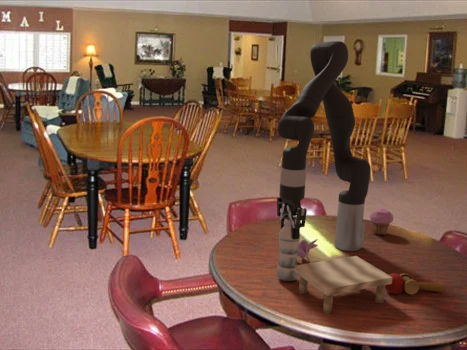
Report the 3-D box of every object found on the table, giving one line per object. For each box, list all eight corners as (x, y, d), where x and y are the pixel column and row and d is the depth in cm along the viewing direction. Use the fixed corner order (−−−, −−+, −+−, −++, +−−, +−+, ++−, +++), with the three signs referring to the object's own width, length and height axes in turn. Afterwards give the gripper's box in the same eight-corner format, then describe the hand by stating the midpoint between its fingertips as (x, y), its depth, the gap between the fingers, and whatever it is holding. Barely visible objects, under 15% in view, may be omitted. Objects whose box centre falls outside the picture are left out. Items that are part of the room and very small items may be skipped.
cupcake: (367, 235, 219) (369, 210, 216) (369, 228, 227) (371, 204, 224) (391, 238, 216) (393, 213, 214) (391, 231, 224) (394, 207, 222)
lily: (322, 262, 194) (312, 235, 195) (330, 262, 183) (320, 233, 184) (289, 273, 193) (280, 246, 194) (295, 274, 181) (285, 245, 182)
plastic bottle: (296, 285, 173) (301, 223, 168) (274, 282, 174) (278, 220, 169) (298, 276, 179) (302, 216, 174) (277, 274, 180) (281, 214, 175)
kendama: (432, 289, 177) (378, 282, 174) (439, 272, 174) (384, 265, 172) (442, 304, 170) (386, 298, 167) (449, 287, 167) (392, 280, 165)
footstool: (354, 279, 178) (356, 255, 176) (389, 302, 163) (392, 277, 161) (293, 290, 169) (295, 265, 167) (325, 316, 154) (327, 289, 152)
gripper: (316, 187, 164) (312, 241, 168) (291, 175, 177) (288, 226, 181) (294, 189, 161) (290, 244, 165) (270, 177, 174) (267, 229, 178)
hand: (289, 235), depth 173 cm, fingers closed on plastic bottle, 6 cm apart
